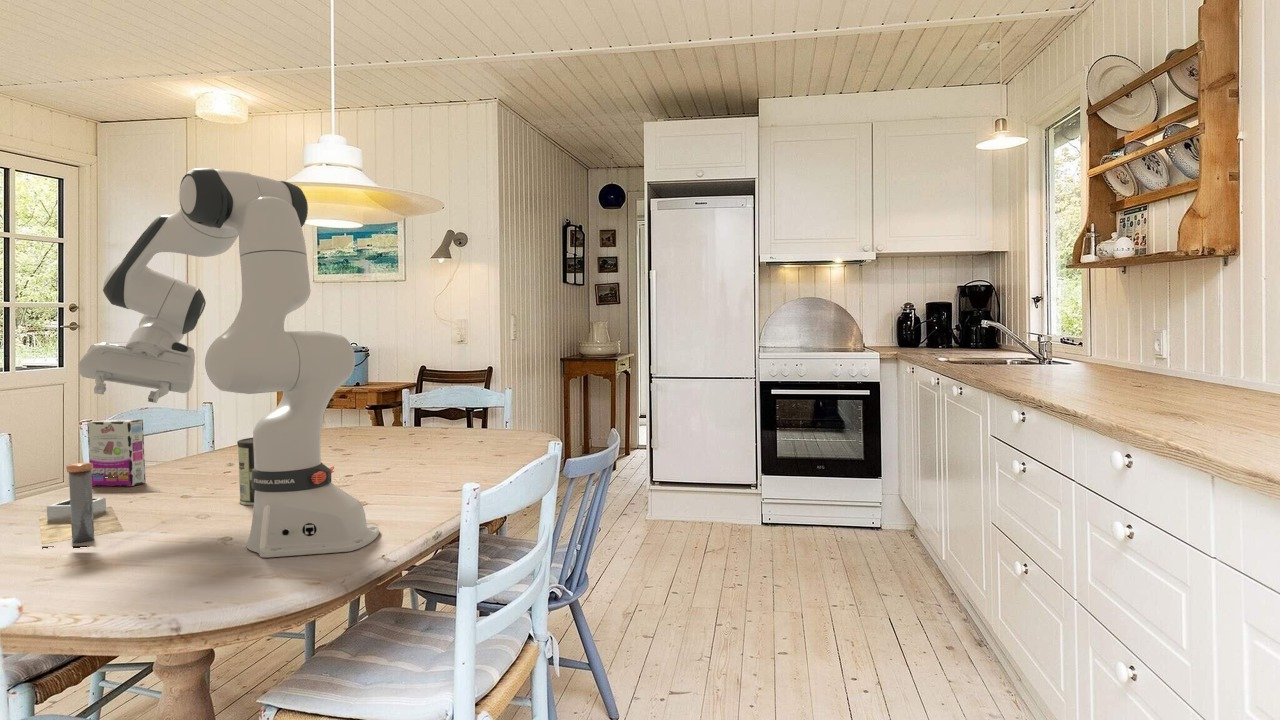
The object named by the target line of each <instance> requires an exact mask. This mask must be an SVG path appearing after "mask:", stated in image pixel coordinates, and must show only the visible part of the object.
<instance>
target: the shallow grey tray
mask: <svg viewBox="0 0 1280 720" xmlns="http://www.w3.org/2000/svg"><path fill="white" fill-rule="evenodd" d="M92 498H93V516H96V515H99V514H101V513H104V512H106V507H107V498H106V497H92ZM46 516H47V521H71V507H70V498H68V499H65V500H63V501H59V502H55V503H53V504H50V505H47V506H46Z"/></svg>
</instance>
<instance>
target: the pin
mask: <svg viewBox="0 0 1280 720" xmlns="http://www.w3.org/2000/svg"><path fill="white" fill-rule="evenodd" d="M65 467H66V473H68V482H69V483H68V485H69V486H68V487H69V499H70V507H71V527H72V539H71V543H73V544H84V543H85V544H86V543H89V542H93V541H94V540H95V536H94V519H93V498H94V497H93V487H92V477H91V470H92V469H93V463H89V462H78V463H72V464H68V465H66V466H65ZM87 546H88V545H72V546H71V547H73V548H72V549H74V548H80V547H87ZM87 548H88V547H87ZM80 549H81V548H80Z"/></svg>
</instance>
